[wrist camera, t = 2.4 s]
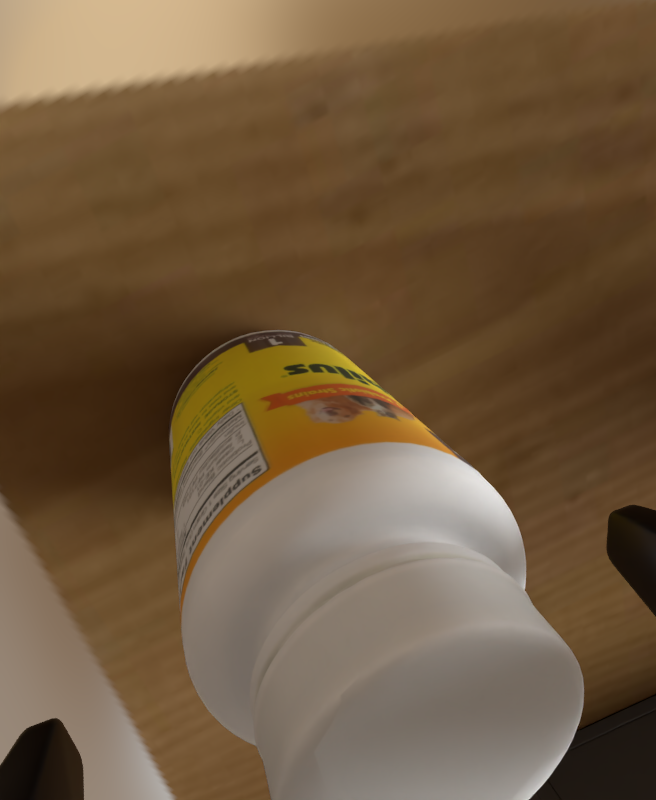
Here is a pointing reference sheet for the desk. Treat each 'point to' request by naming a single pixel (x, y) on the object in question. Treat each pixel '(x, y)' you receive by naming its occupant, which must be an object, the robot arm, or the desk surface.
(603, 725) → the black rectangular tray
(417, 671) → the supplement bottle
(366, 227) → the desk surface
